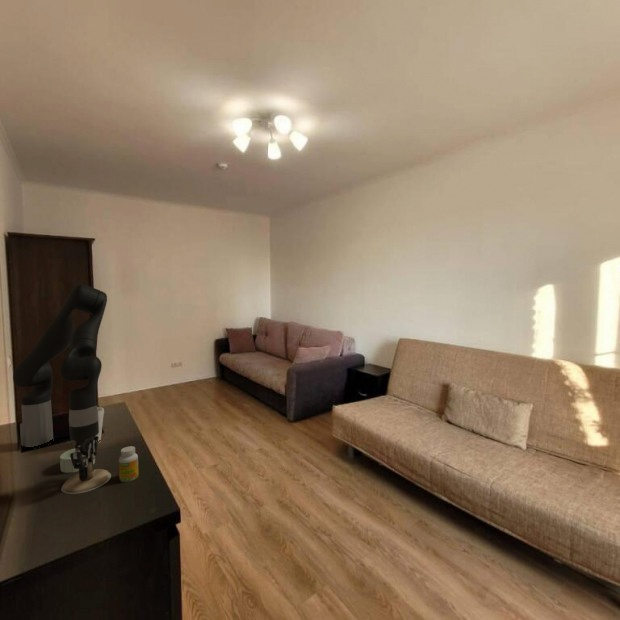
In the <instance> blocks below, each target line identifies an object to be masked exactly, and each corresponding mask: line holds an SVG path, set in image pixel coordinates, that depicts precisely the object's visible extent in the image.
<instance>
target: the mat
mask: <svg viewBox="0 0 620 620" xmlns="http://www.w3.org/2000/svg"><path fill="white" fill-rule="evenodd" d="M108 473H109V477H108V479H107V480H106V481H105V482H104V483H103V484H101V485H99V486H97V487H95V488H93V489H90V490H86V491H82V492H67V491H65V490H64V484H63V485H62V486H61V488H60V490H61V492H62V493H63V494H67V495H68V494H69V495H76V494H82V493H87V492H90V491H93V490H95V489H97V488H99V487H102V486H103V485H105V484H107V483H108V482H109V481H110V479H111V478H112V474H111V472H109V471H108Z"/></svg>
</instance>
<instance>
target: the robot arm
mask: <svg viewBox="0 0 620 620" xmlns="http://www.w3.org/2000/svg"><path fill="white" fill-rule="evenodd" d="M107 303H108V295H107V294H106V292H104V291H102V290H100V289H97V288H94V287H92V286H90V285H86V284H82V283H79V284H76V285H75V287H74V288H72V290H71V292H70V293H69V295H68V296H67V298H66V299H65V301H64V303H63V305H62V307H61V309H60V310H59V311H58V313H57V315H56V316H55V318H54V319H53V320H52V322H51V323H50V324H49V326H47V328H46V330H45V331H44V333H43V334H42V335H41V337H40V338H39V340H38V341H37V343H36V344H35V345H34V347H33V348H32V350H31V351H30V352H29V353H28V355H26V357H24V359H23V360H22V361H21V362H20V363H19V364H17V366H16V368H15V370H14V371H13V377H12V378H13V382H14V385H16V386H17V387H19V388H28V387H33V388H32V389H31V390H30V391H29V392H27V393H25V394H24V395H22V397H21V400H20V402H21V403H20V404H21V419H22V422H21V423H20V424H19V433H20V446H21V445H22V446H25V447H34V446H38V445H41V444H44V443H47V442H49V441H50V440H52V439H53V440H54V432H53V431H54V430H53V429H54V428H53V414H52V412H53V411H52V394H53V380H54V379H53V378H54V377H53V368H52V365H51V364H50V361H52V360H53V359H55V358H57V357H58V356H59V355H61V354H62V353H63V352H65V351H66V350H67V349H68V347H69V346H70V348H69V350H68V352H67V353H66V355H65V357H64V358H63V360H62V362H61V364H60V367H59V375H60V378H61V379H63V381H65V382H75V381H84V380H88V381H87V383H86V384H85V385H82V386H77V387H75V388H73V389H70V391H69V392H68V408H69V410H68V411H69V413H68V424H69V425H68V427H69V429H68V430H69V439H70V440H71V441H74V442H75V446H74V449H75V452H74V453H71V454H70V457H71V460H72V463H73V466H74V469H79V471H78V474H79V479H80V480H84V479H87V478H88V462H92V468H93V471H94V464H93V460H94V456H95V457H96V456H97V453H98V447H99V446H98V444H99V443H98V438H99V437H98V436H96V435H97V434H98V433H99V422H98V409H97V407H98V406H97V404H98V403H97V387H98V382H99V378H100V374H101V372H102V361H101V359H100V358H99V357H97V356H95V354H96V352H97V347H98V338H99V336H98V335H99V330H100V327H101V324H102V320H103V317H104V313H105V310H106V307H107ZM74 310H78V311H81V312H84V313H88V314H91V316H90V317H88V319H87V320H84V322H81V324H79V325H78V326H77V327H76V328H75V323H74V319H73V312H74ZM83 455H84V456H83ZM82 456H83V457H82Z"/></svg>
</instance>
